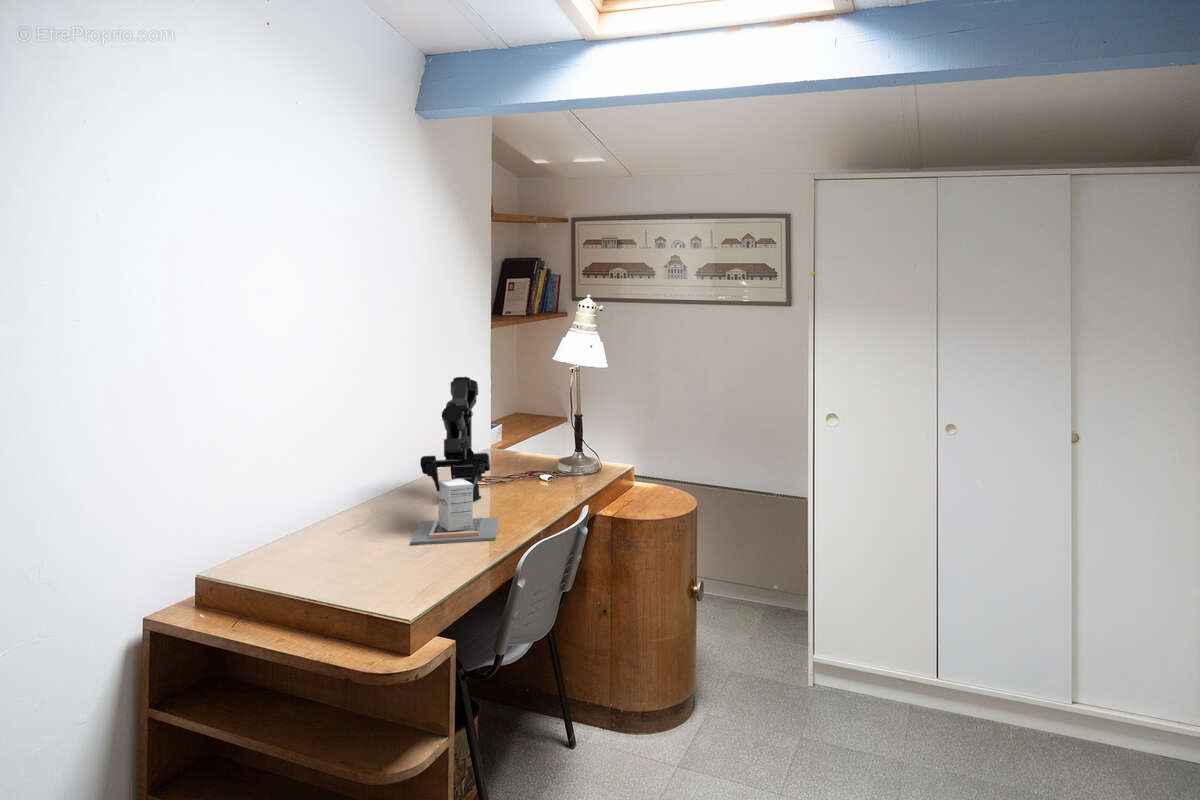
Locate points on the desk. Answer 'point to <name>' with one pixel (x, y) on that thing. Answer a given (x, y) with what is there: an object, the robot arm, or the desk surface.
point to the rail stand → (455, 532)
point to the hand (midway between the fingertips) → (454, 490)
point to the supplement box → (455, 504)
